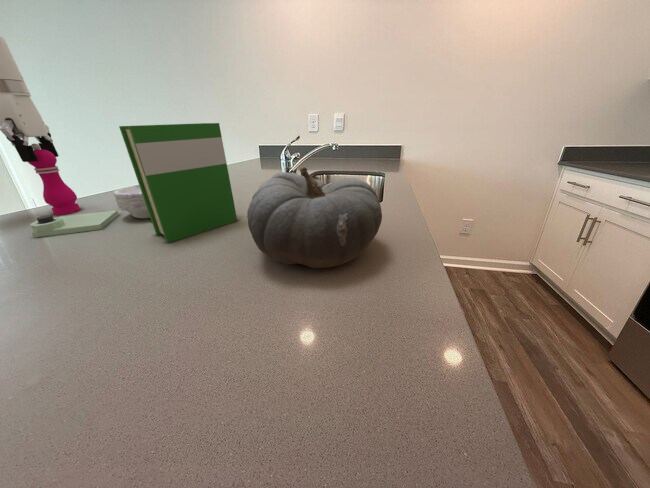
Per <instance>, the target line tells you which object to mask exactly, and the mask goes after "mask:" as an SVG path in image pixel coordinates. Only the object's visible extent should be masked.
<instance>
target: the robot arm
mask: <svg viewBox="0 0 650 488" xmlns="http://www.w3.org/2000/svg"><path fill="white" fill-rule="evenodd" d="M31 97H32V95H31V93H30V90H29V88H28V86H27V84H26V82H25V79H24V78H23V76H22V73H21V71H20V69H19V67H18V65H17V63H16V60H15V58H14V56H13V54H12V52H11V50H10V47H9V45H8V43H7V41H6V39H5V38H4V36H3V35H1V34H0V132H1V133H2V134H3V135H4V136H5V138H6V139H7V141H9V142H10V144H11V146H13V147H14V148H15V150H16V152H17V154H18V156H19V158H20V159H21V161H22V162H23V163H28V162H33V161H38V158H37V156H36V154H35V152H34V149H33V148H32V146H31V145H32V144H30V145H29V138H34V139H36V141H37V142H38V143H37V144H38V145H39V146H40V149H43V150H47V151H50V152H51V153H53V154H54V155H55V157H56V158H58V157H59V156H60V155H59V153H58V151H57V149H56V147H55V145H54V143H53V142H54V140H53V139H52V134H51V132H50V127H49V126H48V125H47V124H46V123H45V121H44V119H43V117H42V115H41V114H40V111H39V110H38V108H37V106H36V104H35V103H34V101H33V99H32V98H31Z"/></svg>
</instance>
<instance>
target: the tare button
mask: <svg viewBox="0 0 650 488" xmlns="http://www.w3.org/2000/svg"><path fill="white" fill-rule="evenodd" d="M54 218H55V217H53V215H52V214H46V215H40V216H37V217H36V221H38V222H39V224H45V223H49V222H53V221H55V220H54Z"/></svg>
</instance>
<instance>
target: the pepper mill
mask: <svg viewBox="0 0 650 488" xmlns="http://www.w3.org/2000/svg"><path fill="white" fill-rule="evenodd" d="M30 145H31V146H32V148H33V150H34V152H35V154H36V156H37V158H38V161H33V162H27V163H28V164H29V165H30V166H32V167H34V168H33V170H34V171H35V174H37V175H38V176H39V177H40V179H41V181H42V185H43V191H42V197H43V200H44V202H45V203H46V204H47V205H49V206H51V211H52V213H53V215H56V216H64V215H69V214H73V213H77V212H79V211H80V210H81V207H80V205H79V203H77V202H76V201H77V200H78V196H77V194H76V192H75V191H74V190H73V188H70V187H69V185H67V183H65V181H64V180H63V179H62V177H61V175H60V169H59V166H57V163H58V160H57V157H55V155H54V154H53V153H51V152H50V151H47V150H43V149H41V148H40V146H39V144H38V143H31V144H30Z"/></svg>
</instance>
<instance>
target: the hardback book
mask: <svg viewBox="0 0 650 488" xmlns="http://www.w3.org/2000/svg"><path fill="white" fill-rule="evenodd" d="M220 126H221V125H220V123H219V122H207V123H206V122H202V123H201V122H199V123H198V122H197V123H174V124H173V123H172V124H170V123H169V124H146V125H144V124H143V125H142V124H141V125H119V126H118V128H119V130H120V133H121V136H122V139H123V142H124V145H125V148H126V152H127V153H128V156H129V160H130V162H131V163H130V164H131V165H132V168H133V171H134V174H135V177H136V180H137V183H138V185H139V186H140V189H141V192H142V194H143V197H144V200H145V203H146V206H147V209H148V212H149V215H150V218H149V219H150V220H151V223H152V226H153V230H154V232H155V235H156V236H164V238H165V241H166V243H168V244H170V243H172V242H176V241H179V240H182V239H186V238H188V237H190V236H191V237H192V236H194V235H197V234H201V233H203V232H207V231H210V230H213V229H215V228H219V227H223V226H225V225H229V224H231V223H234V222H237V221H238V217H237V216H238V215H237V211H236V206H235V201H234V195H233V190H232V184H231V180H230V174H229V169H228V164H227V163H228V162H227V158H226V152H225V147H224V142H223V137H222V131H221V127H220Z"/></svg>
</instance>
